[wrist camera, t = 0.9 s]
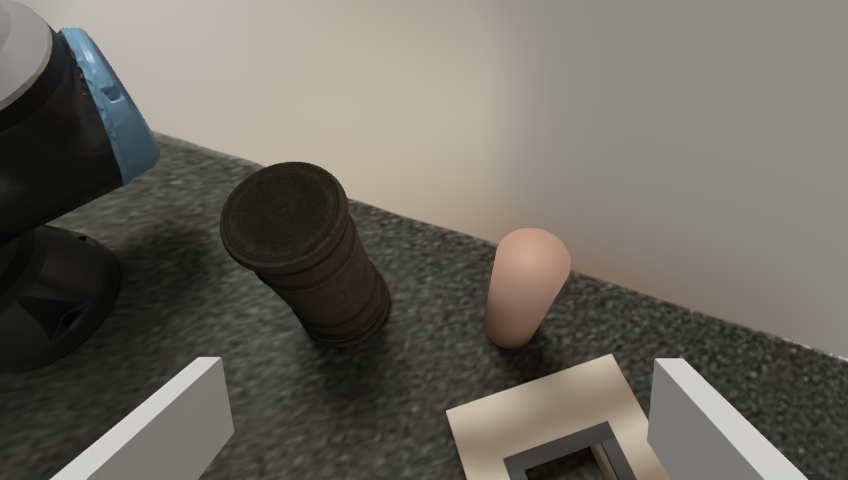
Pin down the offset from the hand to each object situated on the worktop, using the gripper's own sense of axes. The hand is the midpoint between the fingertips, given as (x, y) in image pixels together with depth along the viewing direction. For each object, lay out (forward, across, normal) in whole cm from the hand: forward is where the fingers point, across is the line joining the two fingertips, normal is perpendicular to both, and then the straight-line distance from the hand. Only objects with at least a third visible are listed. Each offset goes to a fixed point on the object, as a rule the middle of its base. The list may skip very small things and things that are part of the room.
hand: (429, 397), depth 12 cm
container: (+28, -11, -8) cm, 31 cm away
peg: (+26, +6, -10) cm, 29 cm away
